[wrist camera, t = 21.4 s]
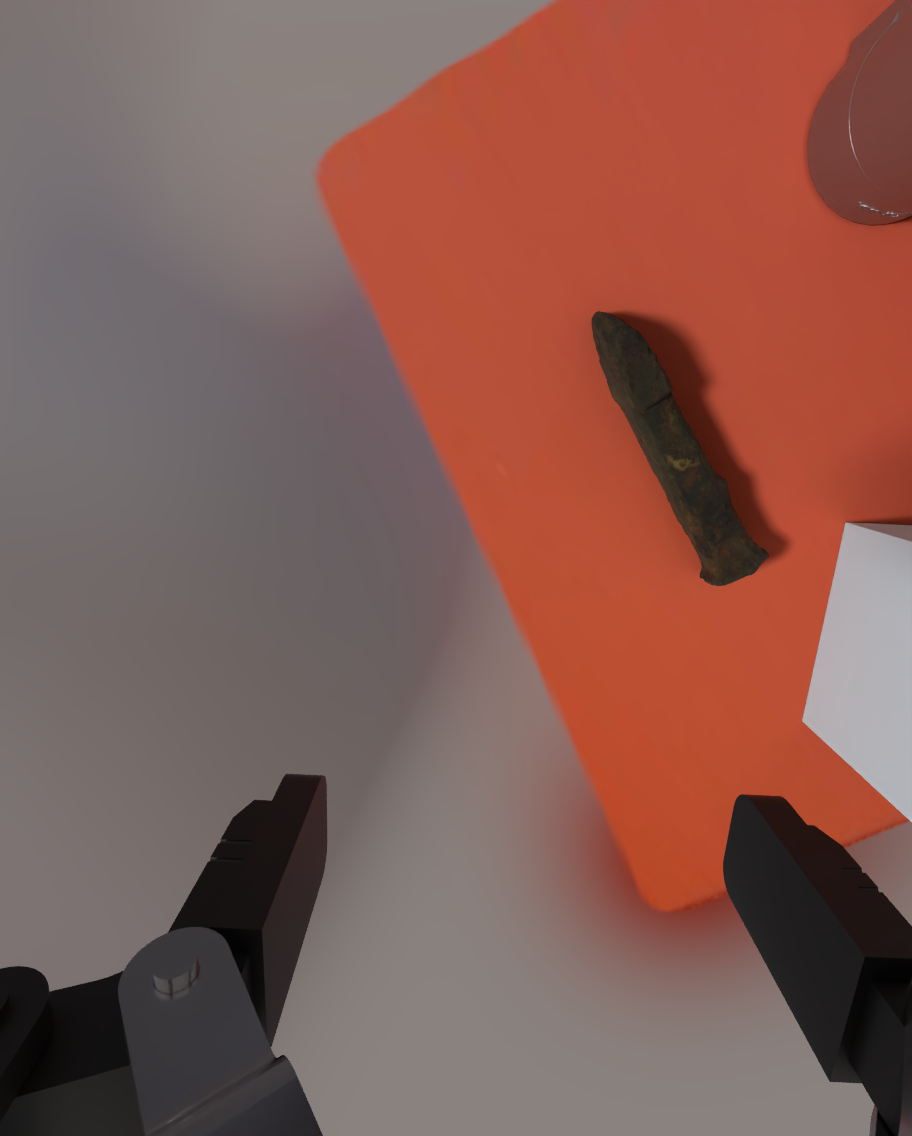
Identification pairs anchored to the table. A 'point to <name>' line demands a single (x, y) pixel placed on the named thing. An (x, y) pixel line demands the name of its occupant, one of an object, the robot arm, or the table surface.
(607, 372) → the hand tool
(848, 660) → the light grey cabinet
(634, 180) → the table surface
